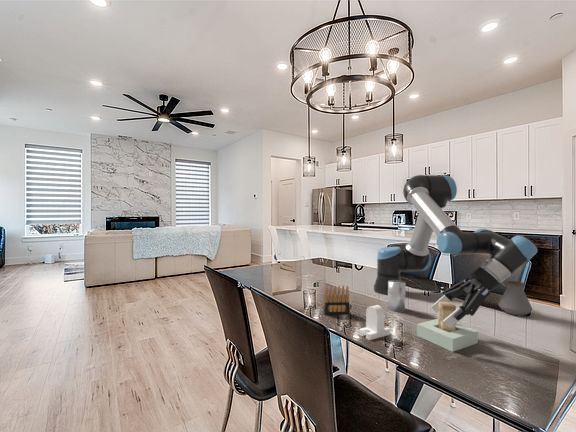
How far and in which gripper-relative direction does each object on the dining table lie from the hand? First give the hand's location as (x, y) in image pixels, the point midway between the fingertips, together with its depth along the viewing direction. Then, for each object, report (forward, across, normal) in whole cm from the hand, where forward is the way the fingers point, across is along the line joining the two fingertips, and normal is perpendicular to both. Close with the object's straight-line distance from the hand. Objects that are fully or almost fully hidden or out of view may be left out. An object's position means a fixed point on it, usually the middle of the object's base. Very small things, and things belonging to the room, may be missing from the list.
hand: (439, 316), depth 99 cm
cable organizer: (+20, +1, -10) cm, 23 cm away
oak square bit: (+4, 0, +7) cm, 8 cm away
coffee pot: (-21, -38, +32) cm, 54 cm away
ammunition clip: (+30, -17, -19) cm, 39 cm away
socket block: (+4, 0, +7) cm, 8 cm away
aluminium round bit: (+12, -28, -1) cm, 30 cm away
